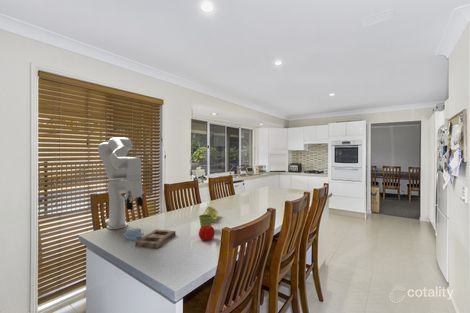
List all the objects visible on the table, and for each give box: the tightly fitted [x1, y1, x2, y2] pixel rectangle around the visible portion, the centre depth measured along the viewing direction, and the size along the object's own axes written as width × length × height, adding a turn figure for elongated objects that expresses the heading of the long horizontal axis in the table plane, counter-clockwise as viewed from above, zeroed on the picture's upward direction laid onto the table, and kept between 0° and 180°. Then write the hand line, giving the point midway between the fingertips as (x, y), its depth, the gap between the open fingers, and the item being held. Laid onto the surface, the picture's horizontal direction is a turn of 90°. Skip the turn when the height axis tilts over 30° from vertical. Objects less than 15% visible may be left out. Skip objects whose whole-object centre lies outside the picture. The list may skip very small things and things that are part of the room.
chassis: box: [134, 229, 177, 250], centre depth 133 cm, size 13×20×3 cm, turn 167°
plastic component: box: [202, 206, 219, 224], centre depth 175 cm, size 20×7×10 cm
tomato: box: [198, 225, 216, 242], centre depth 135 cm, size 9×9×8 cm
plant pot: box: [198, 213, 213, 228], centre depth 152 cm, size 9×9×9 cm
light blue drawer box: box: [122, 227, 145, 241], centre depth 137 cm, size 11×4×6 cm, turn 77°
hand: (134, 207), depth 137 cm, fingers open, 9 cm apart
